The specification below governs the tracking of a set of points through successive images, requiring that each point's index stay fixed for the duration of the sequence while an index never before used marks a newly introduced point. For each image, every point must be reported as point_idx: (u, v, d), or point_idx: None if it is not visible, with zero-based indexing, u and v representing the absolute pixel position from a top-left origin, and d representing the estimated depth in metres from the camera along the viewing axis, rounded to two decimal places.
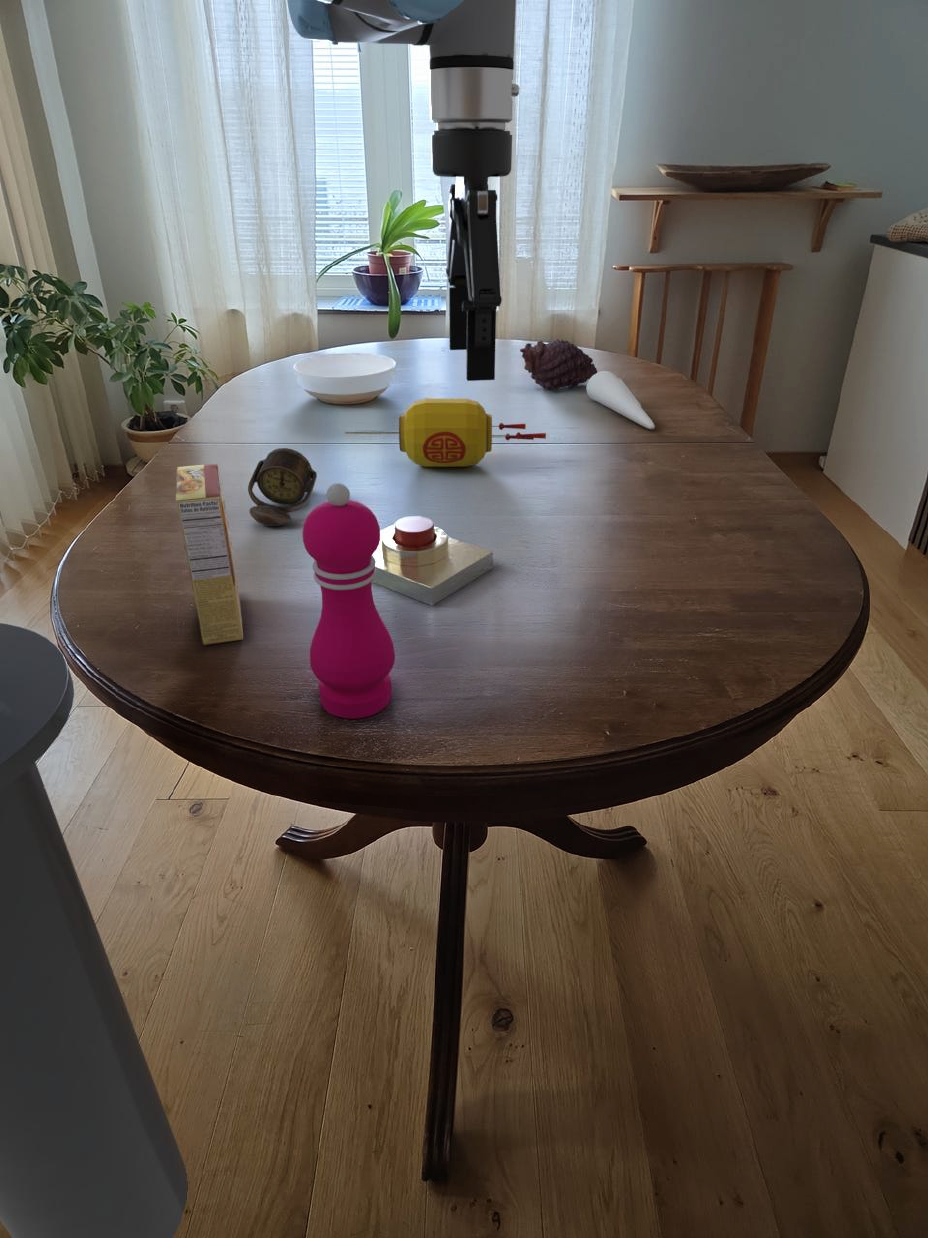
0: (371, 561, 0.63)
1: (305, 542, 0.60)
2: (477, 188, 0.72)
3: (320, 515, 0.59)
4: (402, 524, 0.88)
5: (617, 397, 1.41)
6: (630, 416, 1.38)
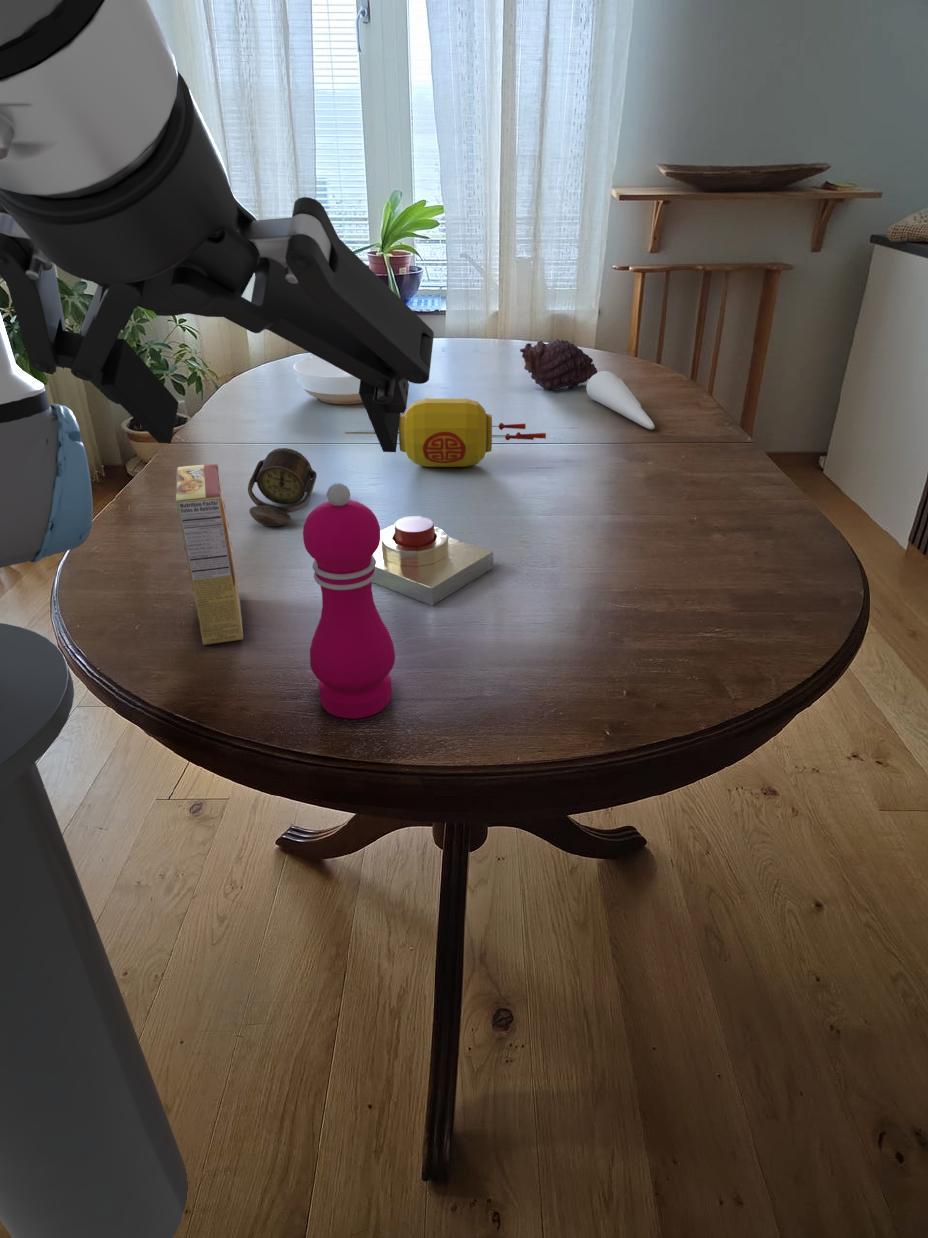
0: (371, 561, 0.63)
1: (305, 542, 0.60)
2: None
3: (320, 515, 0.59)
4: (402, 524, 0.88)
5: (617, 397, 1.41)
6: (630, 416, 1.38)
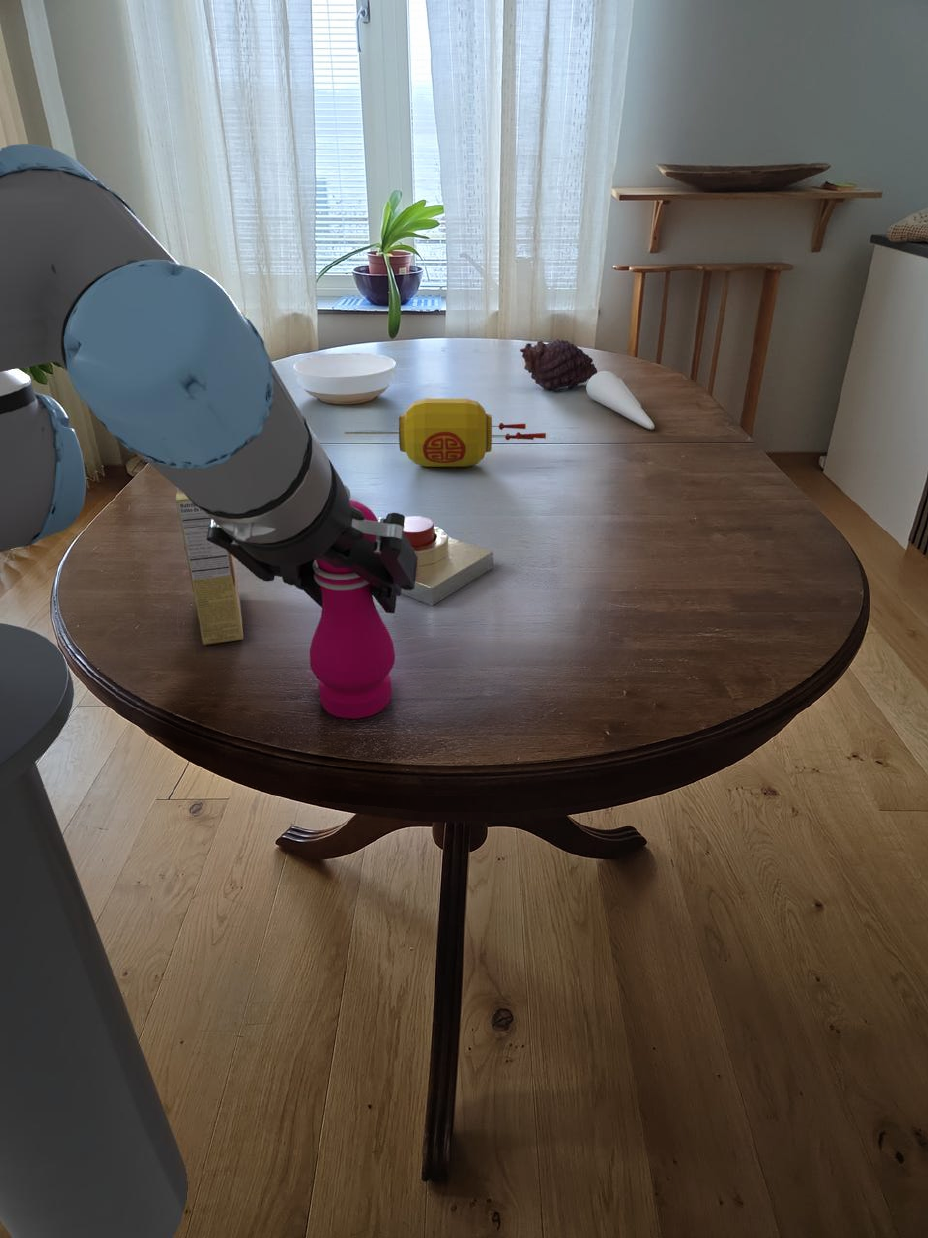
0: None
1: None
2: None
3: None
4: None
5: (617, 397, 1.41)
6: (630, 416, 1.38)
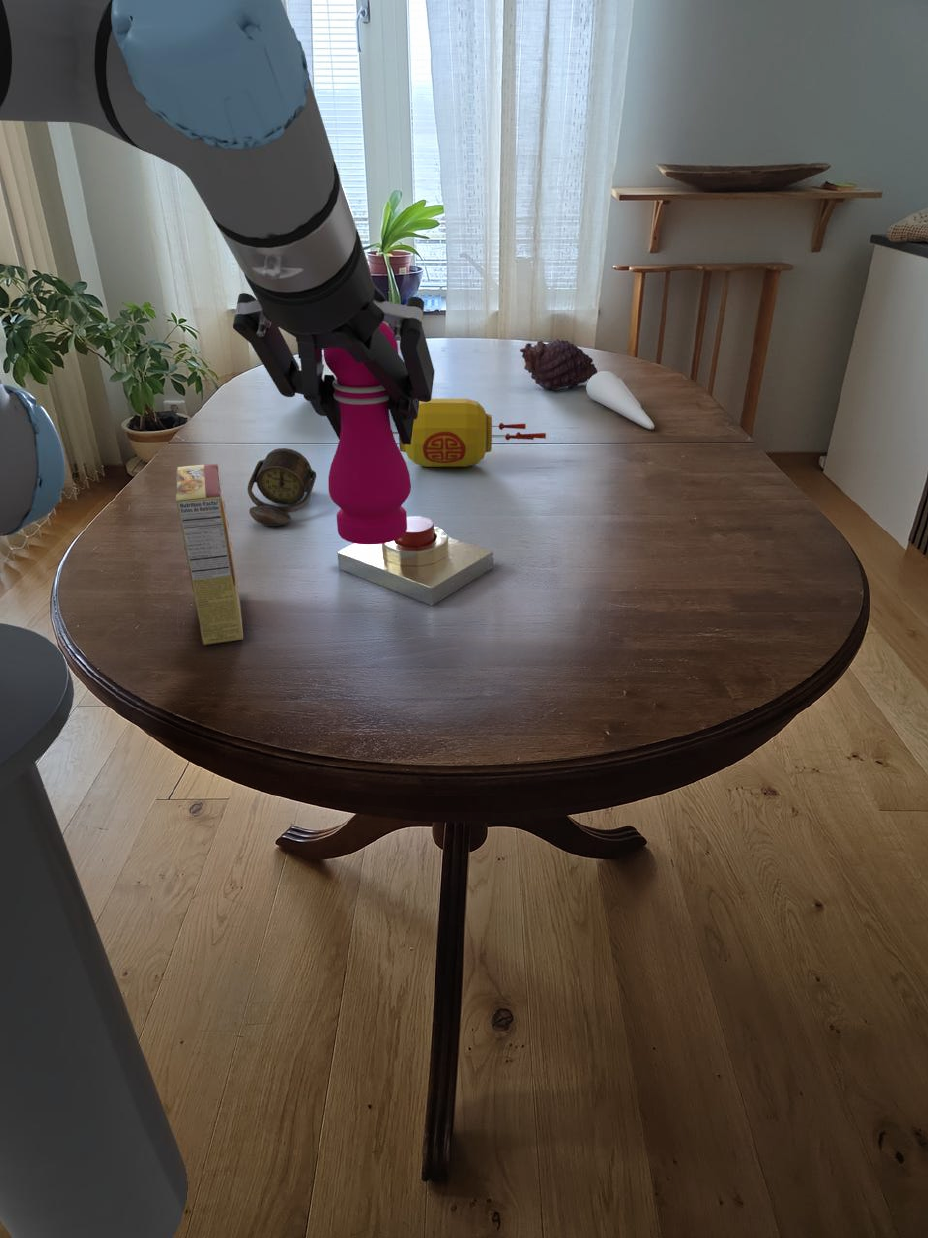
0: None
1: (326, 354, 0.62)
2: None
3: None
4: None
5: (617, 397, 1.41)
6: (630, 416, 1.38)
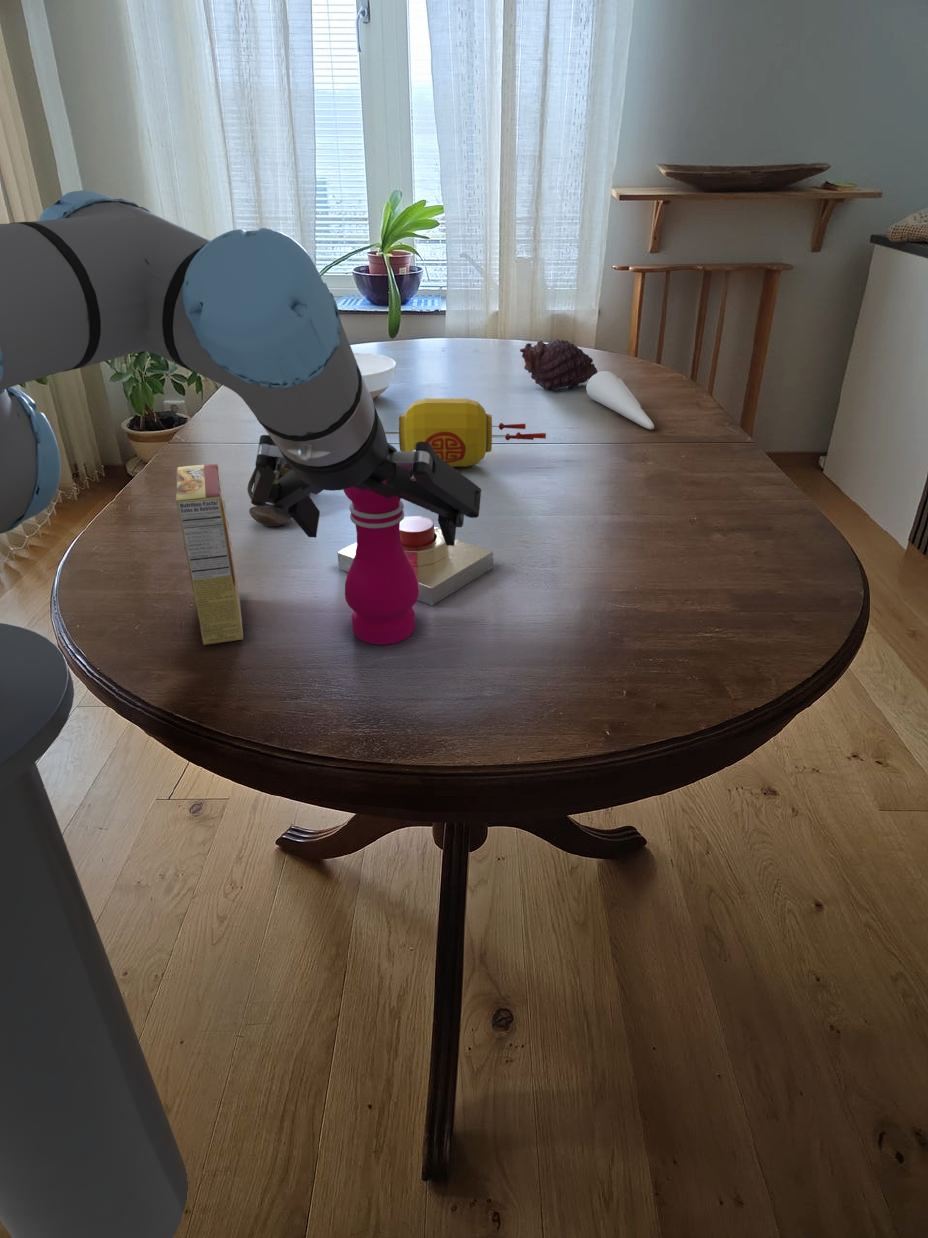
0: (400, 504, 0.72)
1: None
2: None
3: None
4: (402, 524, 0.88)
5: (617, 397, 1.41)
6: (629, 416, 1.38)
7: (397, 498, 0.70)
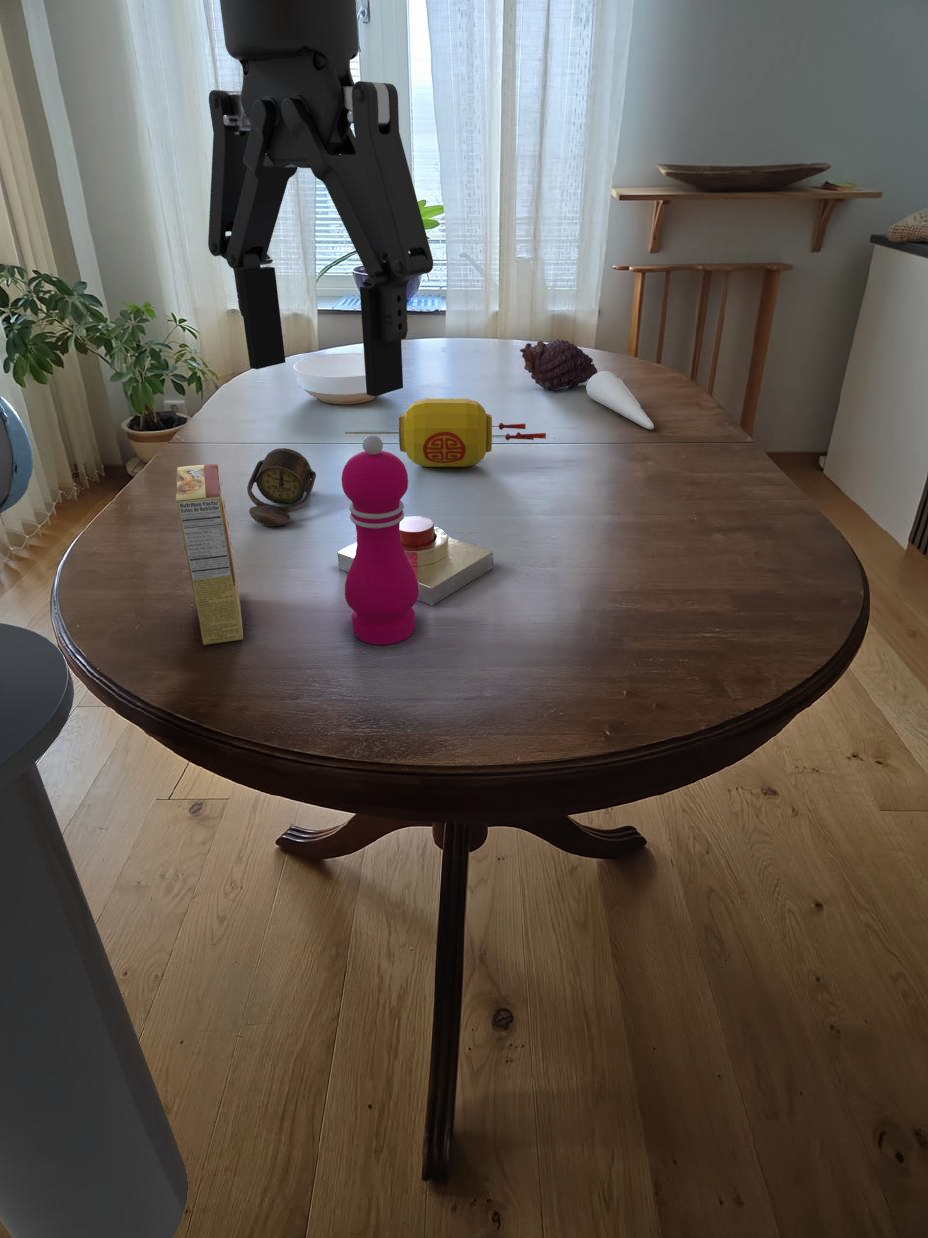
0: (400, 504, 0.72)
1: (344, 486, 0.70)
2: None
3: (357, 462, 0.69)
4: (402, 524, 0.88)
5: (617, 397, 1.41)
6: (629, 416, 1.38)
7: (397, 498, 0.70)
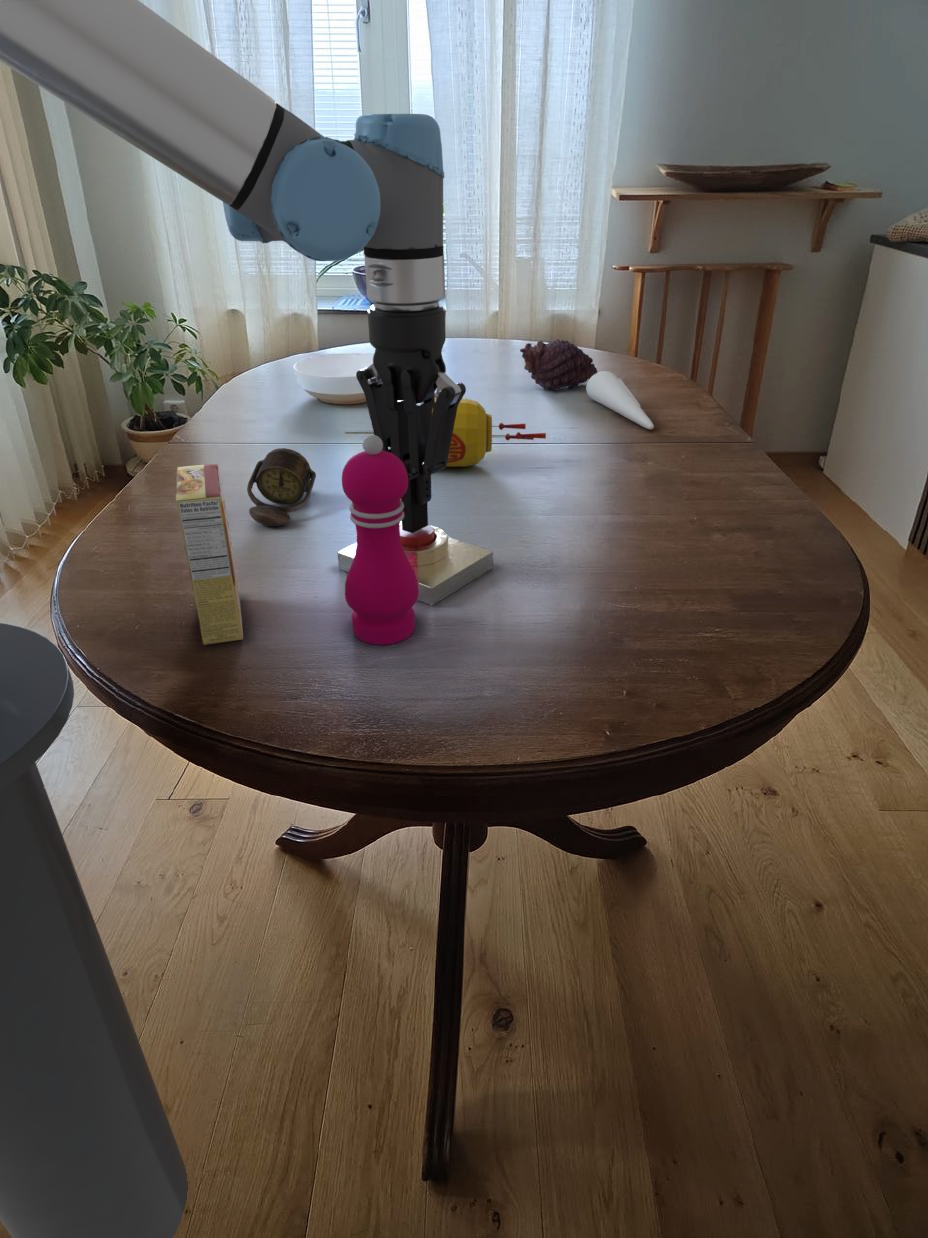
0: (400, 504, 0.72)
1: (344, 486, 0.70)
2: None
3: (357, 462, 0.69)
4: (402, 530, 0.88)
5: (616, 397, 1.41)
6: (629, 416, 1.38)
7: (397, 498, 0.70)
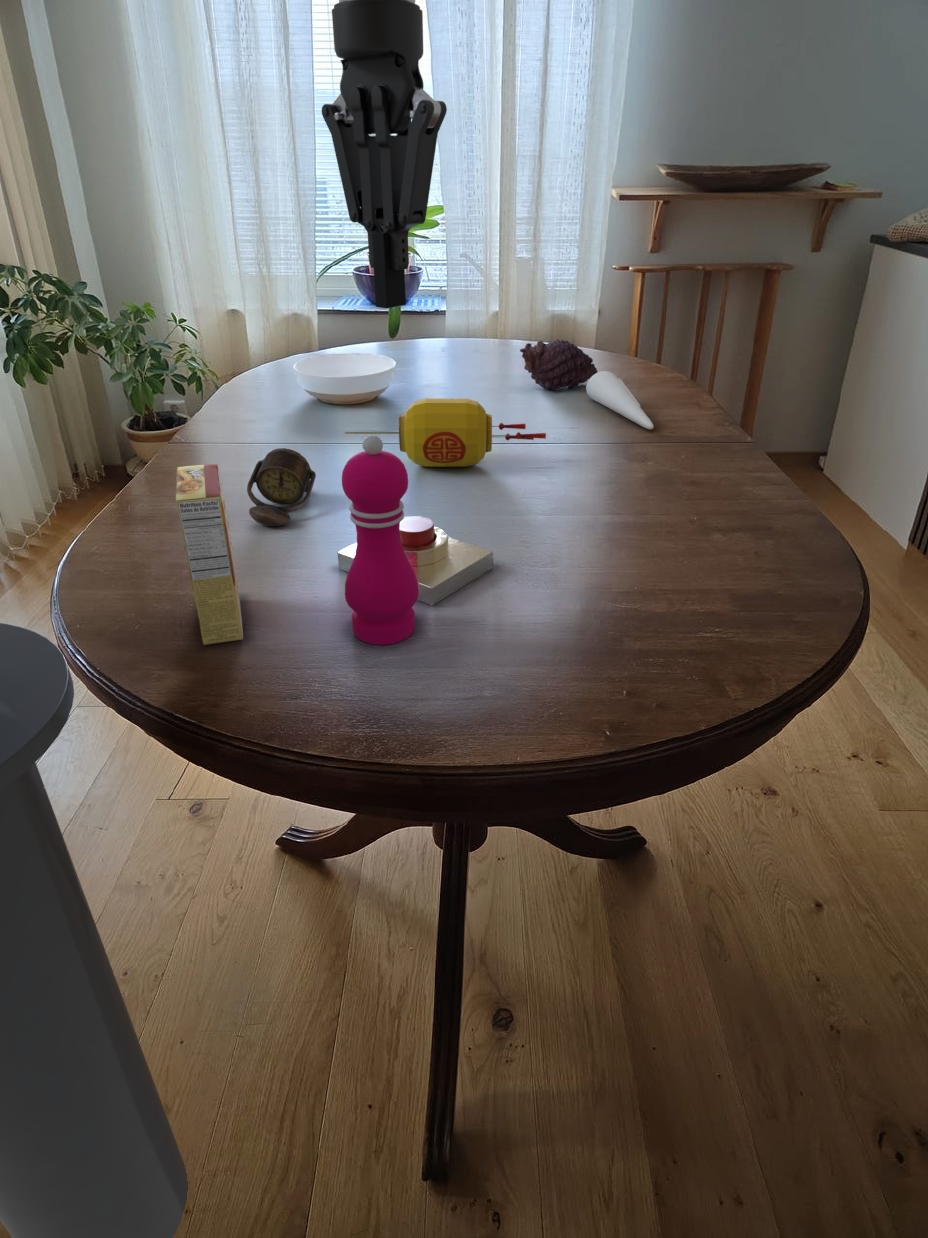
0: (400, 504, 0.72)
1: (344, 486, 0.70)
2: None
3: (358, 462, 0.69)
4: (402, 524, 0.88)
5: (616, 397, 1.41)
6: (629, 416, 1.38)
7: (397, 498, 0.70)
